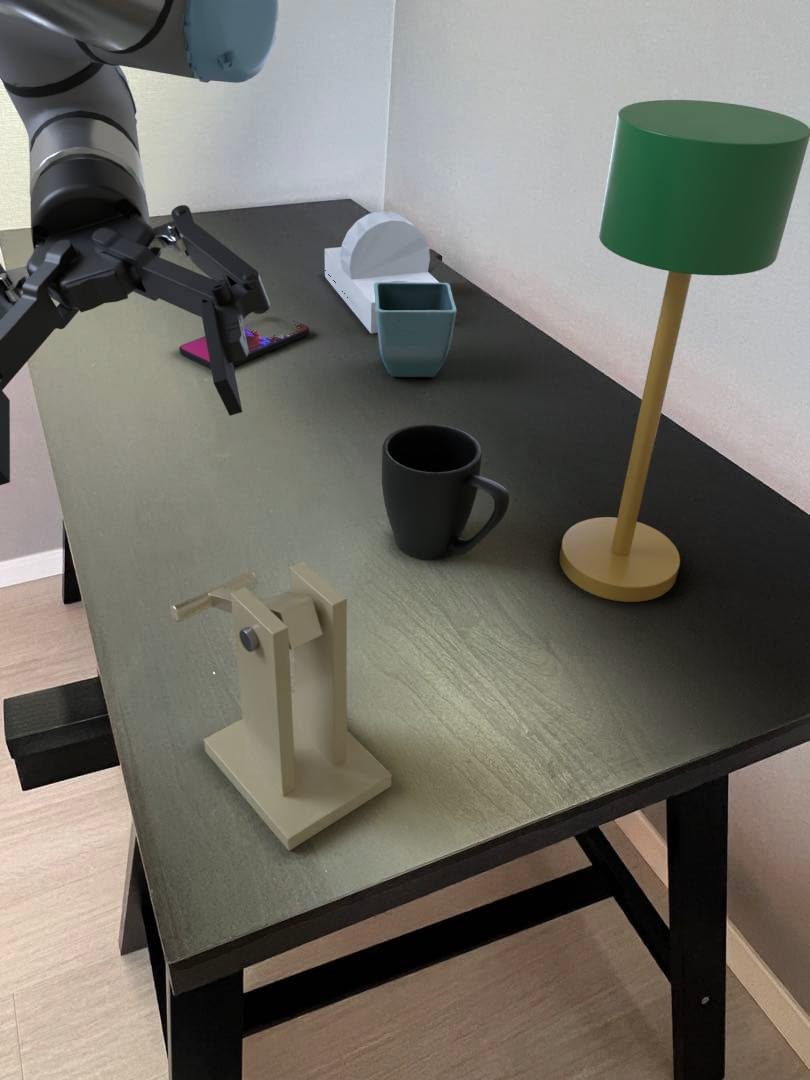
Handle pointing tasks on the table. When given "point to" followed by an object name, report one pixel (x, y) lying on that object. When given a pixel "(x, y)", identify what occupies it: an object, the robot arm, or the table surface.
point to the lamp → (680, 279)
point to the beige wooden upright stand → (295, 719)
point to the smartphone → (254, 341)
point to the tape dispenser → (376, 261)
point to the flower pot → (414, 326)
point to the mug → (435, 489)
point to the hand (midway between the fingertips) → (109, 434)
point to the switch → (285, 606)
